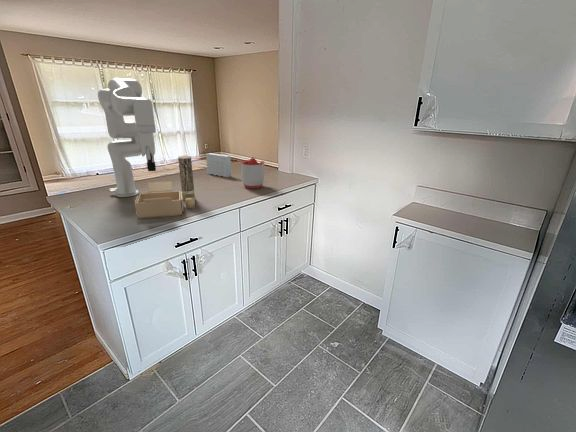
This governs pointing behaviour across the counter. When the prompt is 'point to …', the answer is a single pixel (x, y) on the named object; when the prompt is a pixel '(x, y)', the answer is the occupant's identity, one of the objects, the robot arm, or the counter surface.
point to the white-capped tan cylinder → (190, 203)
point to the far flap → (159, 186)
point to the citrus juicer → (252, 173)
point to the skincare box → (218, 164)
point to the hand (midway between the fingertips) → (152, 170)
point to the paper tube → (186, 177)
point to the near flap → (157, 199)
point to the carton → (159, 205)
